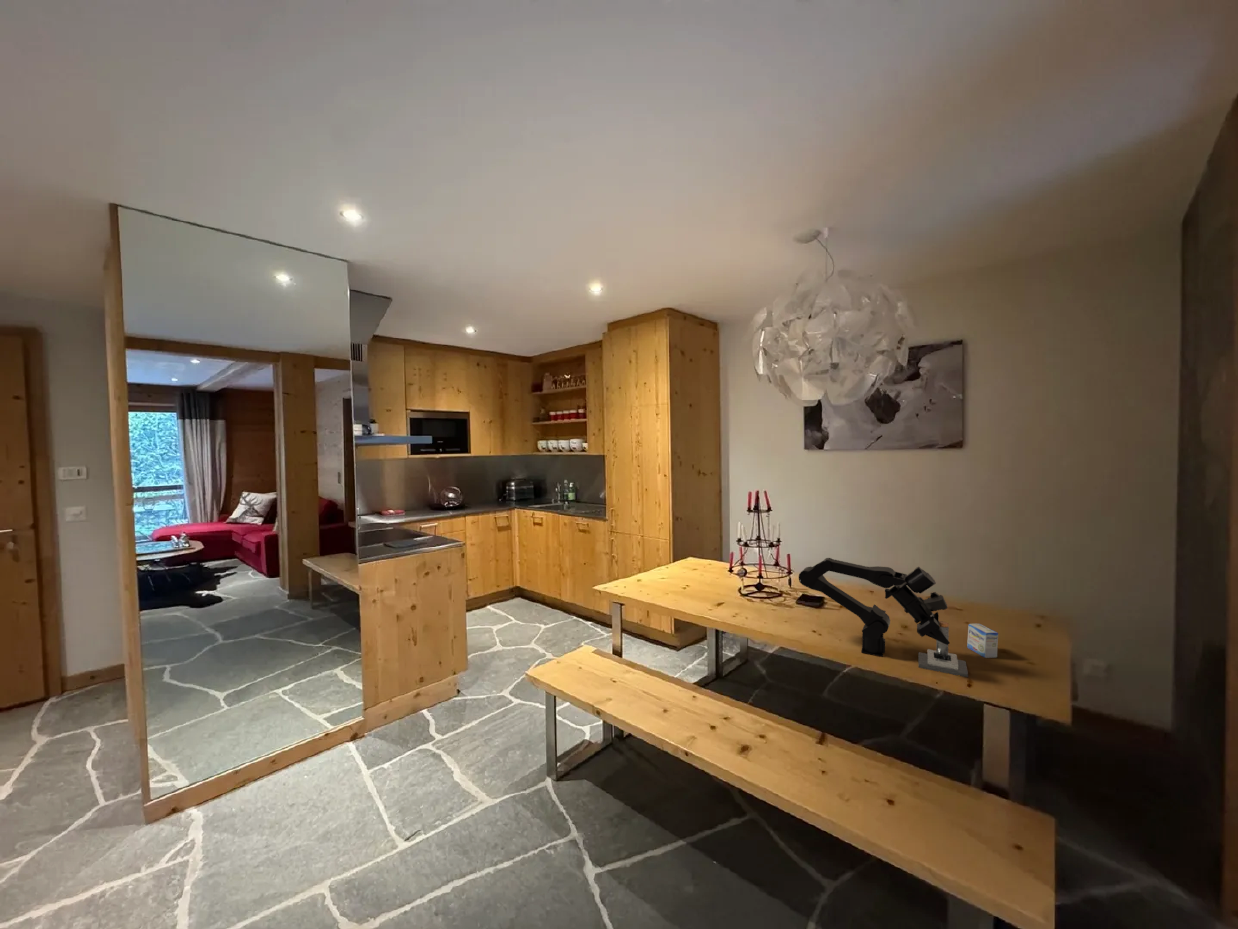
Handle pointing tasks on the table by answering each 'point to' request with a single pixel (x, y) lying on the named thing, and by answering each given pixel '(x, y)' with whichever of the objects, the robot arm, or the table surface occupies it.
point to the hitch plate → (960, 666)
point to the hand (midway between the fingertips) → (948, 640)
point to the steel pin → (941, 647)
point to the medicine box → (982, 640)
